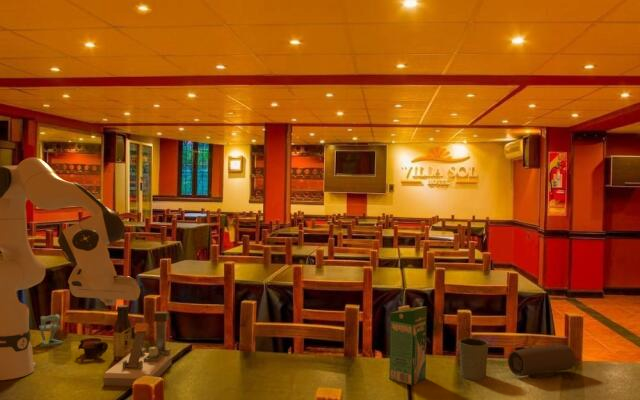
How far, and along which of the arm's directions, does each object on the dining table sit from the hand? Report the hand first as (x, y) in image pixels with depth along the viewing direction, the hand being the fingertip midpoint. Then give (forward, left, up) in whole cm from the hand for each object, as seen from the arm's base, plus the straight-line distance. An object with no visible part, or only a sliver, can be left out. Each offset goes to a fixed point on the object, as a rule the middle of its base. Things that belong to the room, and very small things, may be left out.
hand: (111, 303), depth 169 cm
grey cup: (+102, +64, -28) cm, 124 cm away
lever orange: (-1, +10, -23) cm, 25 cm away
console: (-3, +16, -28) cm, 32 cm away
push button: (-1, +21, -24) cm, 31 cm away
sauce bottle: (-20, +26, -28) cm, 43 cm away
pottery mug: (-31, +23, -28) cm, 48 cm away
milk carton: (+82, +51, -28) cm, 101 cm away
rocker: (-10, +23, -23) cm, 33 cm away
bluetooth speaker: (+124, +75, -28) cm, 148 cm away
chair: (-61, +29, -28) cm, 73 cm away
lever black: (-2, +26, -23) cm, 34 cm away
